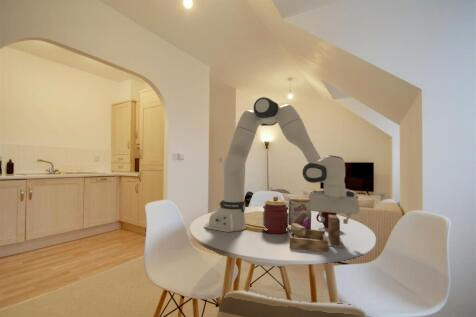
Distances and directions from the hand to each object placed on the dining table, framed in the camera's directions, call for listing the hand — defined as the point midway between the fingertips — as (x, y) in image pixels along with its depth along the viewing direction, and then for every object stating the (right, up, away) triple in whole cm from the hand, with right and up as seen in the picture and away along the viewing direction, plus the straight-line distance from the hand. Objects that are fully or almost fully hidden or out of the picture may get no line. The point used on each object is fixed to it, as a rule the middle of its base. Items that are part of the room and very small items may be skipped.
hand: (333, 222), depth 101 cm
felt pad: (0, -9, 0) cm, 9 cm away
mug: (+6, -9, +23) cm, 26 cm away
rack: (-12, -8, -2) cm, 15 cm away
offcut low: (-17, -9, -1) cm, 19 cm away
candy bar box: (-11, -9, +17) cm, 22 cm away
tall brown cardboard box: (0, -8, 0) cm, 8 cm away
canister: (-23, -9, +16) cm, 30 cm away
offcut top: (-16, -5, -1) cm, 17 cm away
